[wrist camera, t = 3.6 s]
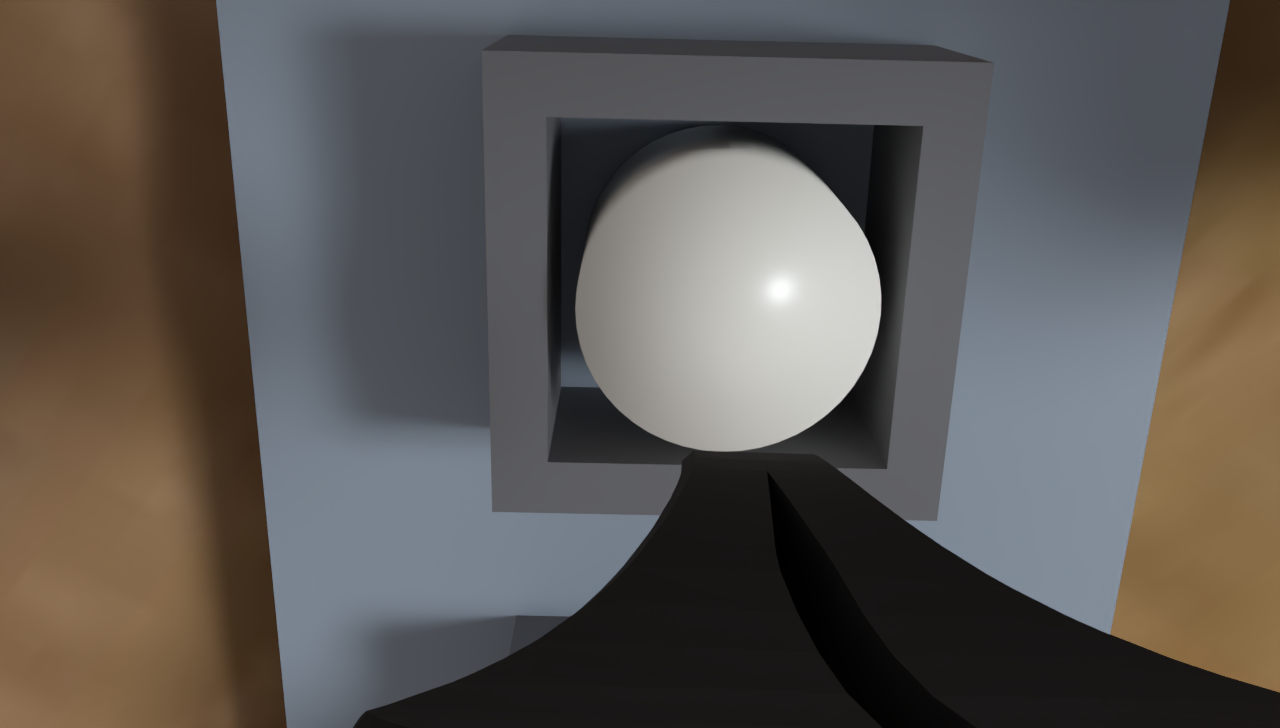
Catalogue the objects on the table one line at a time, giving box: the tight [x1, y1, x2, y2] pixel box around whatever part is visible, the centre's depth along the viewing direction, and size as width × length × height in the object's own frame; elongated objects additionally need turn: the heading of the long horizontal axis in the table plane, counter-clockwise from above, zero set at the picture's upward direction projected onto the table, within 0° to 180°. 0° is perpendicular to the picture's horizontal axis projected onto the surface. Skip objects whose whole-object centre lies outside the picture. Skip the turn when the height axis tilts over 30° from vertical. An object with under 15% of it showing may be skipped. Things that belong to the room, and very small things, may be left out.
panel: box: [216, 0, 1230, 728], centre depth 19 cm, size 15×20×5 cm
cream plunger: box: [575, 125, 881, 452], centre depth 16 cm, size 4×4×3 cm
